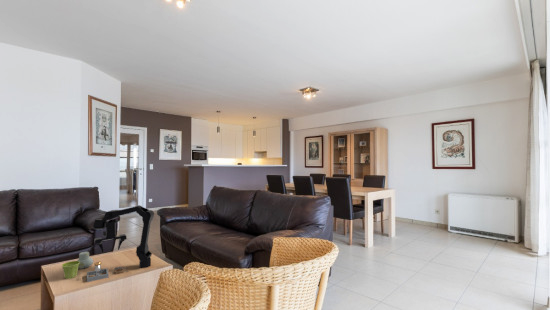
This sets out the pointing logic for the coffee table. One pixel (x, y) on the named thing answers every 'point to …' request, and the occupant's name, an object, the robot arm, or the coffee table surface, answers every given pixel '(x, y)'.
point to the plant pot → (70, 269)
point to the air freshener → (84, 260)
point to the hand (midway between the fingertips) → (110, 251)
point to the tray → (98, 275)
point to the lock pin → (97, 268)
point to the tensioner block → (118, 270)
